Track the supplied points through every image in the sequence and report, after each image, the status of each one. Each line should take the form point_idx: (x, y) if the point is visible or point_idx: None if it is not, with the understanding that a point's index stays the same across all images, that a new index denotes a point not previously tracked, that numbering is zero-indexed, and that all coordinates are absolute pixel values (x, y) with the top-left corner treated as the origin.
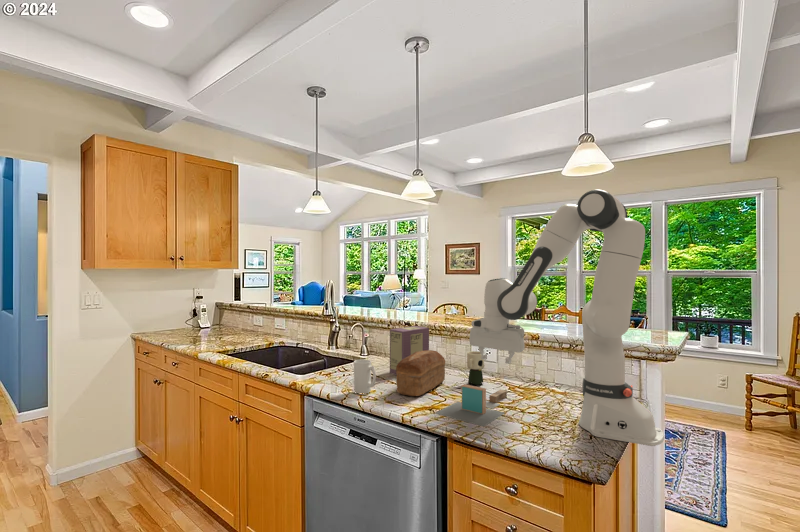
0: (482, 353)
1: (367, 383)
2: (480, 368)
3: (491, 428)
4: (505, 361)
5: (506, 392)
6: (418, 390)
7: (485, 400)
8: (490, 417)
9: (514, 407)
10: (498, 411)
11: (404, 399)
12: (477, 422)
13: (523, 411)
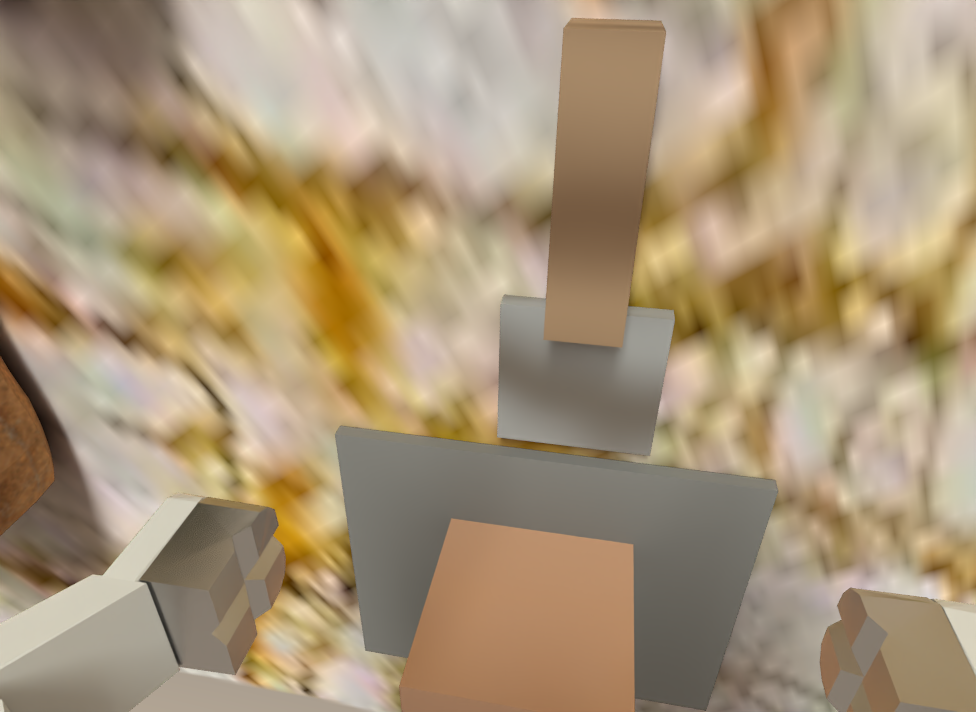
0: (146, 691)
1: None
2: None
3: (746, 687)
4: (830, 698)
5: (663, 36)
6: (33, 501)
7: (633, 632)
8: (696, 600)
9: (821, 275)
10: (715, 486)
11: (48, 512)
12: (648, 681)
13: (933, 337)
